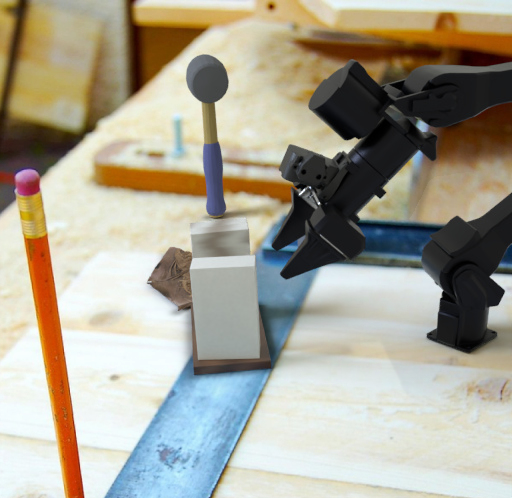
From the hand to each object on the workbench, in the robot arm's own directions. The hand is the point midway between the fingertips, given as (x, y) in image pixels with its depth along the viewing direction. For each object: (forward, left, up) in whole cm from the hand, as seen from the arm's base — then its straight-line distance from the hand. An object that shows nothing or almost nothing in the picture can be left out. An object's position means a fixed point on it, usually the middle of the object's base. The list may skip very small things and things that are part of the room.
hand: (278, 262), depth 95 cm
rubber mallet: (-31, -49, -14) cm, 60 cm away
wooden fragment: (-8, -31, -13) cm, 35 cm away
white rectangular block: (+5, -4, -12) cm, 14 cm away
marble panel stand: (+1, -9, -13) cm, 16 cm away
